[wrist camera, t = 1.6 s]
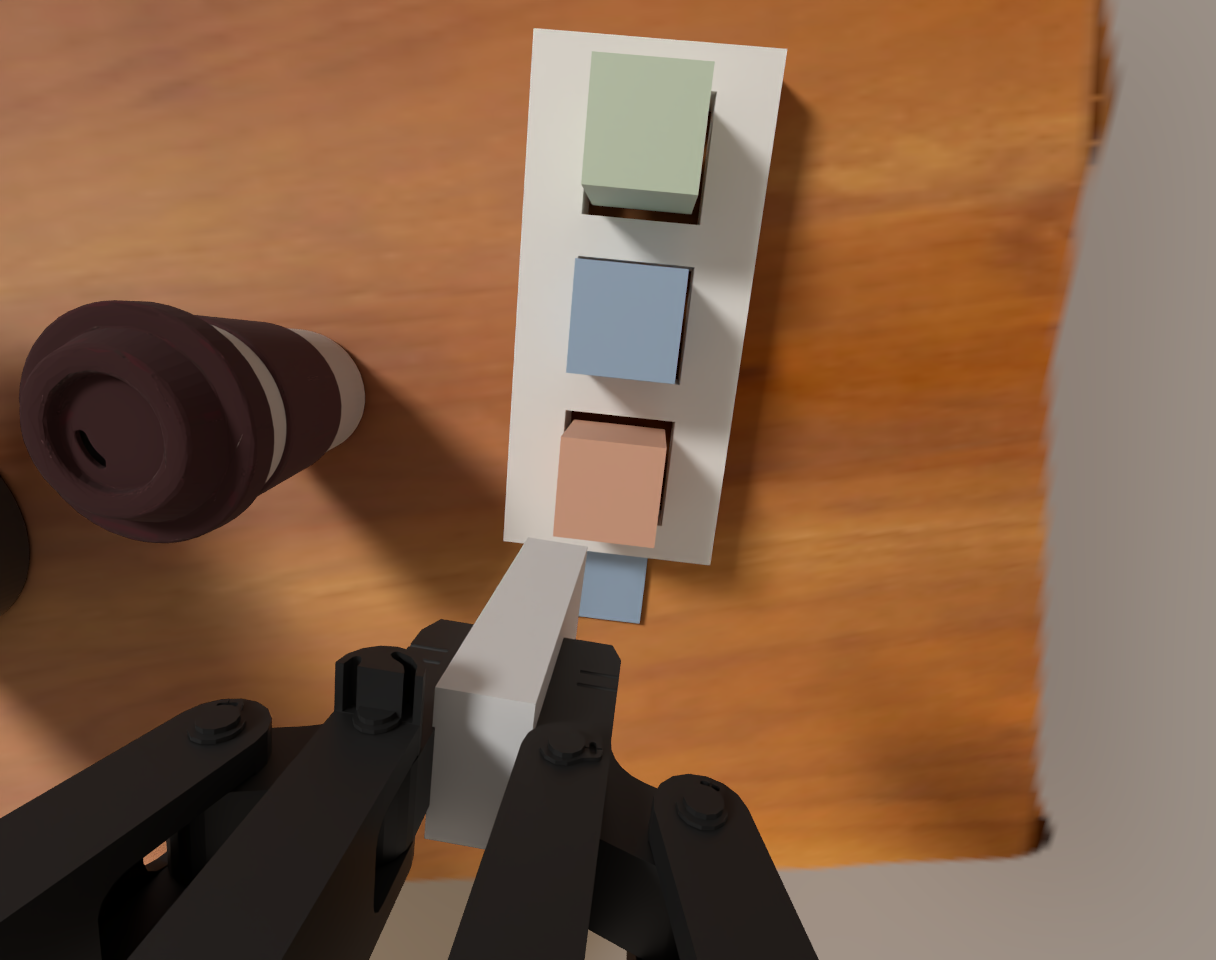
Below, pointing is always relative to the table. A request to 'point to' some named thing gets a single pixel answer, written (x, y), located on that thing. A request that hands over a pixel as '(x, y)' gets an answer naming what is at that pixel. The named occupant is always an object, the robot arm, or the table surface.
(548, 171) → the button board
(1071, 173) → the table surface
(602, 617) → the swatch
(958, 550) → the table surface
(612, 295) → the button slate
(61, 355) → the coffee cup
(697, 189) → the button sage
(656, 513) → the button terracotta
